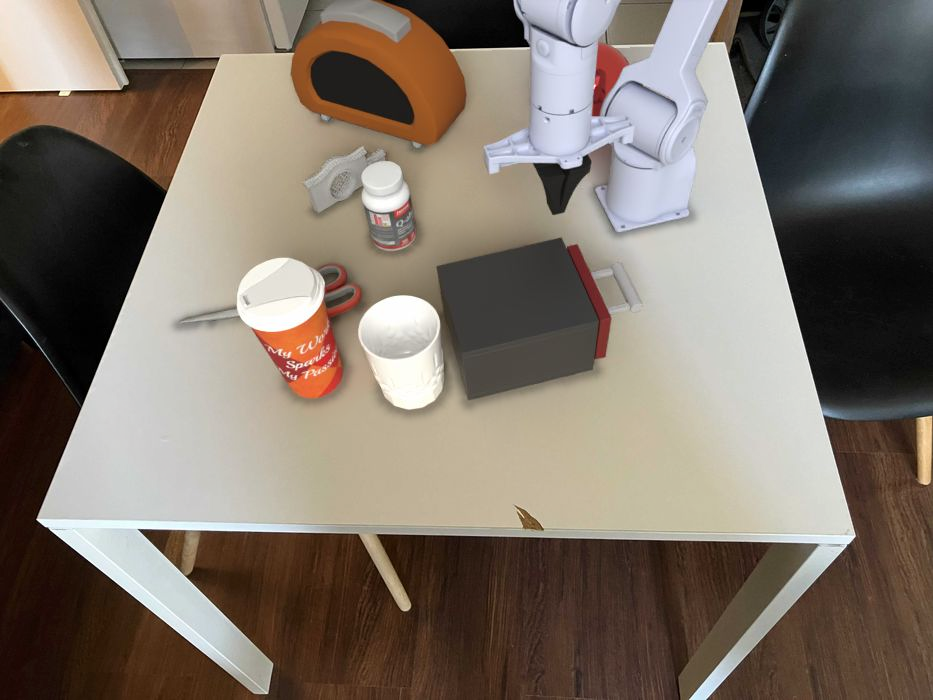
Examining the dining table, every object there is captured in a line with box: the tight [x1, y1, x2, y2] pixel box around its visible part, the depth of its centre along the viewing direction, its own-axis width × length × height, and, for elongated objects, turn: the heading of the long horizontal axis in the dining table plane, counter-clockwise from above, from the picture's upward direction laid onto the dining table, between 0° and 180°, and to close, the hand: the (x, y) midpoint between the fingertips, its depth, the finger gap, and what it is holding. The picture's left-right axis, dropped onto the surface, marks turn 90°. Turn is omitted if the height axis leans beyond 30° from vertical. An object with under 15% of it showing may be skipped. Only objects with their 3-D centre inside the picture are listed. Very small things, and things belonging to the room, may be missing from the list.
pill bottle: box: [361, 160, 417, 252], centre depth 85 cm, size 6×6×10 cm
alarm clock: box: [290, 0, 468, 149], centre depth 96 cm, size 23×9×17 cm, turn 62°
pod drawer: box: [566, 243, 645, 360], centre depth 76 cm, size 17×10×7 cm, turn 104°
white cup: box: [357, 294, 445, 410], centre depth 73 cm, size 8×8×10 cm
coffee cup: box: [236, 257, 343, 399], centre depth 72 cm, size 8×8×15 cm
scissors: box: [178, 263, 363, 324], centre depth 83 cm, size 8×21×2 cm, turn 112°
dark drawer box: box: [436, 237, 599, 401], centre depth 75 cm, size 14×12×9 cm
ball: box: [592, 41, 631, 117], centre depth 94 cm, size 12×12×12 cm
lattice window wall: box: [301, 145, 387, 214], centre depth 93 cm, size 12×2×6 cm, turn 132°
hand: (555, 207), depth 76 cm, fingers closed
